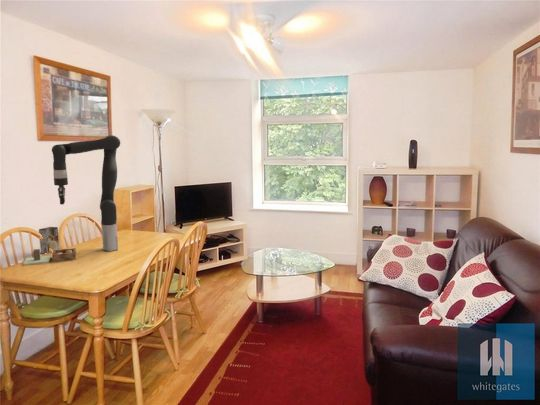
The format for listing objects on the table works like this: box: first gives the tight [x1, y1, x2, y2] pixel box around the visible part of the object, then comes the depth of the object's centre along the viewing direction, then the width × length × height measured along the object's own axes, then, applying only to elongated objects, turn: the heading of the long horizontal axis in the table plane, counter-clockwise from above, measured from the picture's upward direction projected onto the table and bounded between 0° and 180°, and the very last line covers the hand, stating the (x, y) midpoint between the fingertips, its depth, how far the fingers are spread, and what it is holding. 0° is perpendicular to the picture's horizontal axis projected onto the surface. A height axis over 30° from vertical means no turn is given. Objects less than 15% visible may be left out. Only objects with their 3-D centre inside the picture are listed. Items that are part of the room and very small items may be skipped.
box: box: [51, 247, 77, 263], centre depth 243 cm, size 12×12×5 cm
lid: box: [22, 248, 52, 267], centre depth 237 cm, size 13×13×7 cm
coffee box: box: [38, 226, 61, 254], centre depth 260 cm, size 9×6×16 cm
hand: (62, 203), depth 248 cm, fingers open, 8 cm apart
